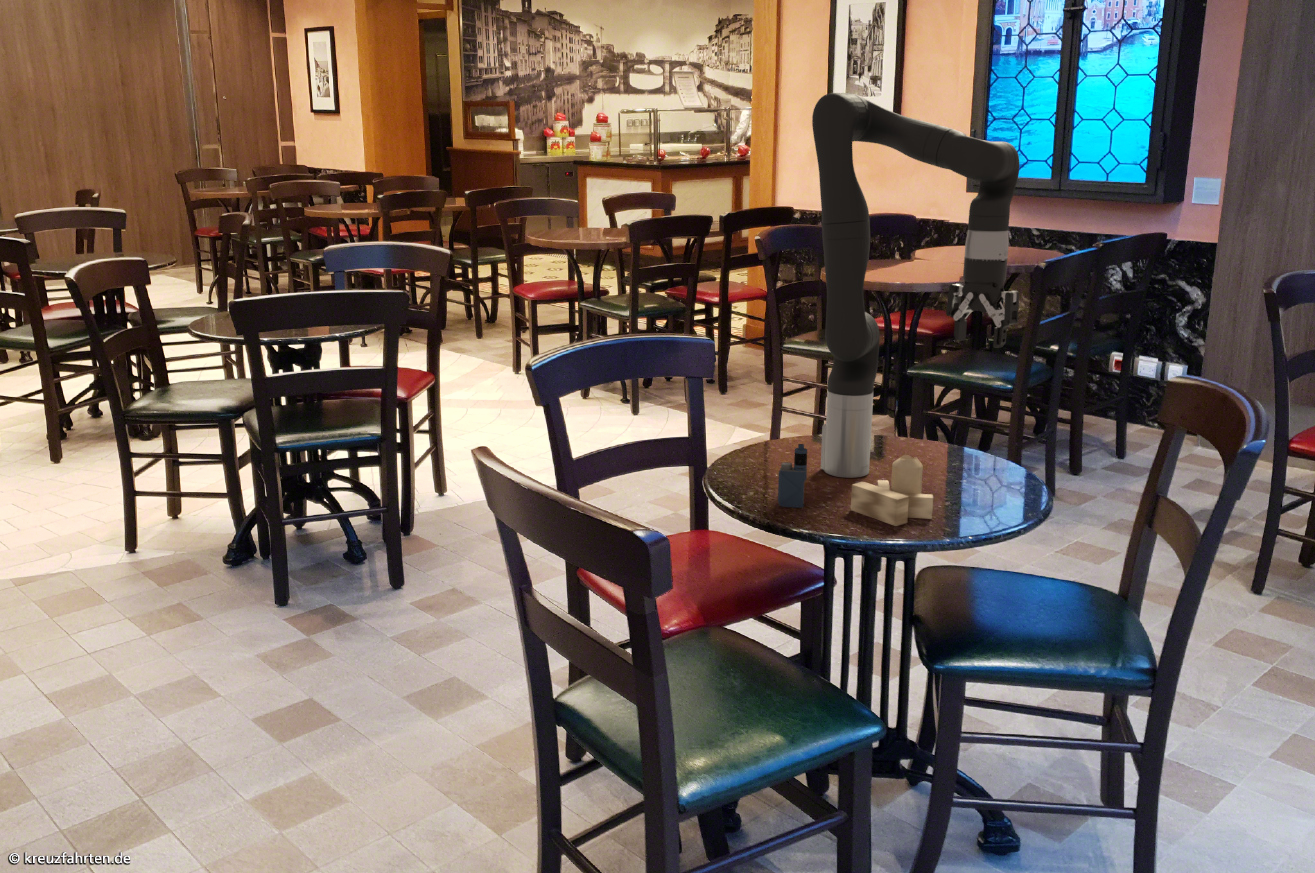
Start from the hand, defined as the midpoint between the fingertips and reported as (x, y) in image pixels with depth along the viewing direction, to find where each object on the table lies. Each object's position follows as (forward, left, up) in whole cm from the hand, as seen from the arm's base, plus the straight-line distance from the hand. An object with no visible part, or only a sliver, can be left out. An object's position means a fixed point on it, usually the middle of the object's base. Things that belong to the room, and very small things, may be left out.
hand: (979, 343), depth 202 cm
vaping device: (-17, -30, -30) cm, 46 cm away
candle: (-3, -14, -30) cm, 34 cm away
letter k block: (-3, -18, -30) cm, 35 cm away
